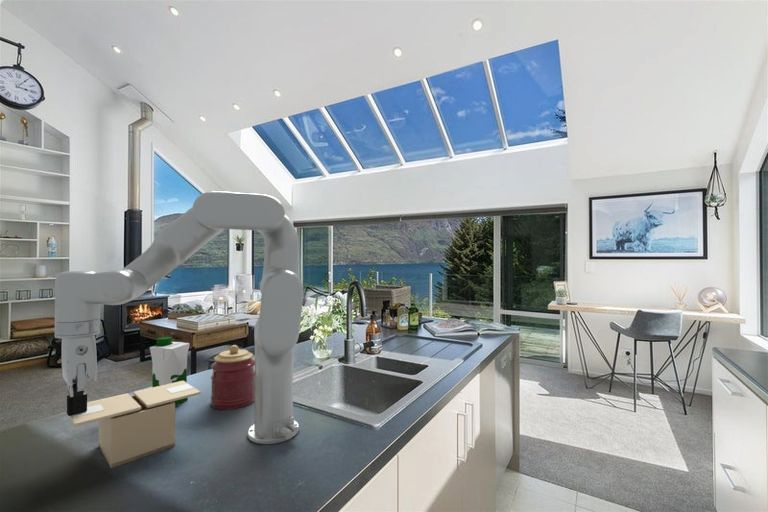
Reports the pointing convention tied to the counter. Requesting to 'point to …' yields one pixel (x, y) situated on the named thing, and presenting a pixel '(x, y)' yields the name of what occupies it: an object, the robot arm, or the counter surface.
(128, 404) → the outer flap
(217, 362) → the canister
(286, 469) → the counter surface
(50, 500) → the counter surface
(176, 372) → the milk carton
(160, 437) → the parcel
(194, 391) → the panel
